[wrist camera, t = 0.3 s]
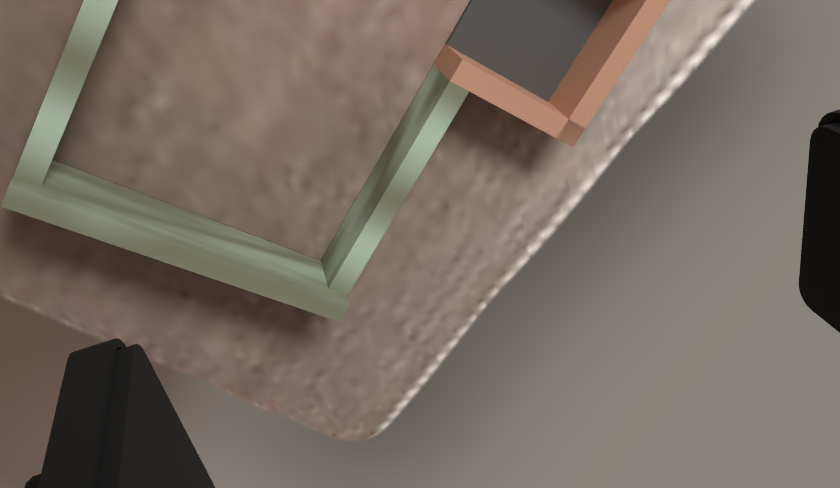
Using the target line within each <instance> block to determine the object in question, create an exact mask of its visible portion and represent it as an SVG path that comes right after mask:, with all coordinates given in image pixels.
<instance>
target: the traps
mask: <svg viewBox="0 0 840 488" xmlns="http://www.w3.org/2000/svg"><path fill="white" fill-rule="evenodd" d="M669 1H670V0H470V2H469V4H468V6H467V7H466V9H465V11H464V13H463V14H462V16H461V18H460V19H459V21H458V23H457V25H456V26H455V28H454V30H453V32H452V33H451V35H450V37H449V39H448V40H447V42H446V44H445V46H444V47H443V49H442V51H441V53H440V54H439V56H438V58H437V60H436V61H435V63H434V65H435V66H436V67H437V68H438V69H439V70H440V71H441V72H442V73H443V74H444V75H445V76H446V77H447V78H448V79H449V80H450V81H451V82H453V83H455V84H457V85H458V86H460V87H462V88H464V89H466V90H468V91H470V92H471V93H473V94H475V95H477V96H479V97H481V98H482V99H484V100H486V101H488V102H490V103H492V104H494V105H495V106H497V107H499V108H501V109H503V110H505V111H507V112H508V113H510V114H512V115H514V116H516V117H518V118H520V119H521V120H523V121H525V122H527V123H529V124H531V125H533V126H534V127H536V128H538V129H540V130H542V131H544V132H546V133H547V134H549V135H551V136H553V137H555V138H557V139H559V140H560V141H562V142H564V143H566V144H568V145H570V146H571V147H573V146H574V144H575V143H576V141H577V140H578V138H579V137H580V135H581V134H582V132H583V131H584V129H585V128H586V126H587V125H588V123H589V122H590V120H591V119H592V117H593V116H594V114H595V113H596V111H597V110H598V108H599V107H600V105H601V104H602V102H603V101H604V99H605V98H606V96H607V95H608V93H609V92H610V90H611V89H612V87H613V86H614V84H615V83H616V81H617V80H618V78H619V77H620V75H621V74H622V72H623V71H624V69H625V68H626V66H627V65H628V63H629V62H630V60H631V59H632V57H633V56H634V54H635V53H636V51H637V50H638V48H639V47H640V45H641V44H642V42H643V41H644V39H645V37H646V36H647V34H648V33H649V31H650V30H651V28H652V27H653V25H654V24H655V22H656V21H657V19H658V18H659V16H660V15H661V13H662V12H663V10H664V9H665V7H666V6H667V4H668V3H669Z"/></svg>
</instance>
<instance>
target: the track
mask: <svg viewBox="0 0 840 488" xmlns="http://www.w3.org/2000/svg"><path fill="white" fill-rule="evenodd" d="M117 2H118V0H84V1H83V4H82V6H81V9H80V11H79V14H78V16H77V19H76V21H75V24H74V26H73V29H72V31H71V34H70V36H69V39H68V41H67V44H66V46H65V49H64V51H63V54H62V56H61V59H60V61H59V64H58V66H57V69H56V71H55V74H54V76H53V79H52V81H51V84H50V86H49V89H48V91H47V94H46V96H45V99H44V101H43V104H42V106H41V109H40V111H39V114H38V116H37V119H36V121H35V124H34V126H33V129H32V131H31V134H30V136H29V139H28V141H27V144H26V146H25V149H24V151H23V154H22V156H21V159H20V161H19V164H18V166H17V169H16V171H15V174H14V176H13V178H12V180H11V182H10V184H9V186H8V189H7V191H6V194H5V196H4V199H3V201H2V204H1V206H0V207H3V208H6V209H9V210H12V211H15V212H18V213H21V214H24V215H27V216H30V217H33V218H36V219H39V220H42V221H44V222H47V223H50V224H53V225H56V226H59V227H62V228H65V229H68V230H71V231H74V232H77V233H80V234H83V235H86V236H89V237H91V238H94V239H97V240H100V241H103V242H106V243H109V244H112V245H115V246H118V247H121V248H124V249H127V250H130V251H133V252H136V253H138V254H141V255H144V256H147V257H150V258H153V259H156V260H159V261H162V262H165V263H168V264H171V265H174V266H177V267H180V268H183V269H185V270H188V271H191V272H194V273H197V274H200V275H203V276H206V277H209V278H212V279H215V280H218V281H221V282H224V283H227V284H230V285H232V286H235V287H238V288H241V289H244V290H247V291H250V292H253V293H256V294H259V295H262V296H265V297H268V298H271V299H274V300H277V301H280V302H282V303H285V304H288V305H291V306H294V307H297V308H300V309H303V310H306V311H309V312H312V313H315V314H318V315H321V316H324V317H327V318H329V319H332V320H335V321H338V322H341V320H342V319H343V317H344V315H345V314H346V312H347V310H348V309H349V307H350V302H349V298H348V294H349V292H350V290H351V289H352V287H353V285H354V284H355V282H356V280H357V278H358V277H359V275H360V273H361V272H362V270H363V268H364V267H365V265H366V263H367V262H368V260H369V258H370V257H371V255H372V253H373V252H374V250H375V248H376V247H377V245H378V243H379V242H380V240H381V238H382V237H383V235H384V233H385V232H386V230H387V228H388V227H389V225H390V223H391V222H392V220H393V218H394V217H395V215H396V213H397V212H398V210H399V208H400V207H401V205H402V203H403V202H404V200H405V198H406V197H407V195H408V193H409V192H410V190H411V188H412V187H413V185H414V183H415V182H416V180H417V178H418V177H419V175H420V173H421V172H422V170H423V168H424V167H425V165H426V163H427V162H428V160H429V158H430V156H431V155H432V153H433V151H434V150H435V148H436V146H437V145H438V143H439V141H440V140H441V138H442V136H443V135H444V133H445V131H446V130H447V128H448V126H449V125H450V123H451V121H452V120H453V118H454V116H455V115H456V113H457V111H458V110H459V108H460V106H461V105H462V103H463V101H464V100H465V98H466V96H467V95H468V93H469V91H468V90H466V89H464V88H462V87H460V86H458V85H457V84H455V83H453V82H451V81H450V80H449V79H448V78H447V77H446V76H445V75H444V74H443V73H442V72H441V71H440V70H439V69H438V68H437V67H436V66H435V65H433V66H432V68H431V70H430V72H429V73H428V75H427V77H426V79H425V80H424V82H423V84H422V86H421V87H420V89H419V91H418V93H417V94H416V96H415V98H414V100H413V101H412V103H411V105H410V107H409V108H408V110H407V112H406V114H405V115H404V117H403V119H402V120H401V122H400V124H399V126H398V127H397V129H396V131H395V133H394V134H393V136H392V138H391V140H390V141H389V143H388V145H387V147H386V148H385V150H384V152H383V154H382V155H381V157H380V159H379V161H378V162H377V164H376V166H375V167H374V169H373V171H372V173H371V174H370V176H369V178H368V180H367V181H366V183H365V185H364V187H363V188H362V190H361V192H360V194H359V195H358V197H357V199H356V201H355V202H354V204H353V206H352V208H351V209H350V211H349V213H348V214H347V216H346V218H345V220H344V221H343V223H342V225H341V227H340V228H339V230H338V232H337V234H336V235H335V237H334V239H333V241H332V242H331V244H330V246H329V248H328V249H327V251H326V253H325V255H324V256H323V258H322V260H321V261H319V260H316V259H314V258H311V257H309V256H306V255H303V254H301V253H298V252H295V251H293V250H290V249H287V248H285V247H282V246H279V245H277V244H274V243H271V242H269V241H266V240H263V239H261V238H258V237H255V236H253V235H250V234H247V233H245V232H242V231H239V230H237V229H234V228H231V227H229V226H226V225H223V224H221V223H218V222H215V221H213V220H210V219H207V218H205V217H202V216H199V215H197V214H194V213H191V212H189V211H186V210H183V209H181V208H178V207H176V206H173V205H170V204H168V203H165V202H162V201H160V200H157V199H154V198H152V197H149V196H146V195H144V194H141V193H138V192H136V191H133V190H130V189H128V188H125V187H122V186H120V185H117V184H114V183H112V182H109V181H106V180H104V179H101V178H98V177H96V176H93V175H90V174H88V173H85V172H82V171H80V170H77V169H74V168H72V167H69V166H66V165H64V164H61V163H58V162H56V161H53V160H52V159H53V156H54V154H55V152H56V149H57V147H58V144H59V142H60V140H61V137H62V135H63V132H64V130H65V127H66V125H67V123H68V120H69V118H70V115H71V113H72V111H73V108H74V106H75V103H76V101H77V99H78V96H79V94H80V91H81V89H82V87H83V84H84V82H85V79H86V77H87V75H88V72H89V70H90V67H91V65H92V63H93V60H94V58H95V55H96V53H97V50H98V48H99V46H100V43H101V41H102V38H103V36H104V34H105V31H106V29H107V26H108V24H109V22H110V19H111V17H112V14H113V12H114V10H115V7H116V5H117Z"/></svg>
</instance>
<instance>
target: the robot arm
mask: <svg viewBox="0 0 840 488" xmlns="http://www.w3.org/2000/svg"><path fill="white" fill-rule="evenodd" d="M799 289H800V293H801V296H802V298H803V300H804V302H805V303H806V305H807V306H808V307H809V308H810V309H812V311H814V312H815V313H816V314H817V315H819V316H820V317H821V318H822V319H823V320H825V321H826V322H827V323H828V324H830V325H831V326H832V327H833V328H835V329H836V330H837V331H838V332H840V110H837V111H833V112H830V113H828V114H826V115H825V116H824V117H822V119H821V121H820V123H819V126H818V128H816V129H815V130H814V131H813V133H812V135H811V139H810V149H809V163H808V174H807V187H806V200H805V213H804V225H803V238H802V250H801V263H800V276H799ZM24 488H215V487H214V485H213V482H212V480H211V479H210V477H209V475H208V473H207V471H206V469H205V467H204V465H203V463H202V461H201V459H200V457H199V455H198V454H197V452H196V450H195V448H194V446H193V444H192V442H191V440H190V438H189V436H188V434H187V433H186V431H185V429H184V427H183V425H182V423H181V421H180V419H179V417H178V415H177V413H176V411H175V410H174V407H173V406H172V404H171V402H170V400H169V398H168V396H167V394H166V392H165V391H164V388H163V386H162V385H161V382H160V380H159V379H158V377H157V375H156V373H155V371H154V369H153V367H152V365H151V363H150V361H149V359H148V357H147V355H146V354H145V352H144V350H143V349H142V347H141V346H140V345H138V344H135V345H132V346H129V347H126V346H125V344H124V343H123V342H122V341H121V340H120V339H117V338H116V339H112V340H109V341H106V342H103V343H100V344H97V345H93V346H90V347H87V348H84V349H81V350H78V351H74V352H72V353H71V354H70V355H69V357H68V360H67V364H66V369H65V373H64V377H63V381H62V386H61V390H60V394H59V399H58V404H57V407H56V412H55V416H54V421H53V425H52V430H51V433H50V438H49V442H48V447H47V451H46V455H45V459H44V464H43V468H42V472H41V474H39V475H36V476H33V477H32V478H31V479H30V480H29V481H28V482H27V483H26V485H25V487H24Z"/></svg>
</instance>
